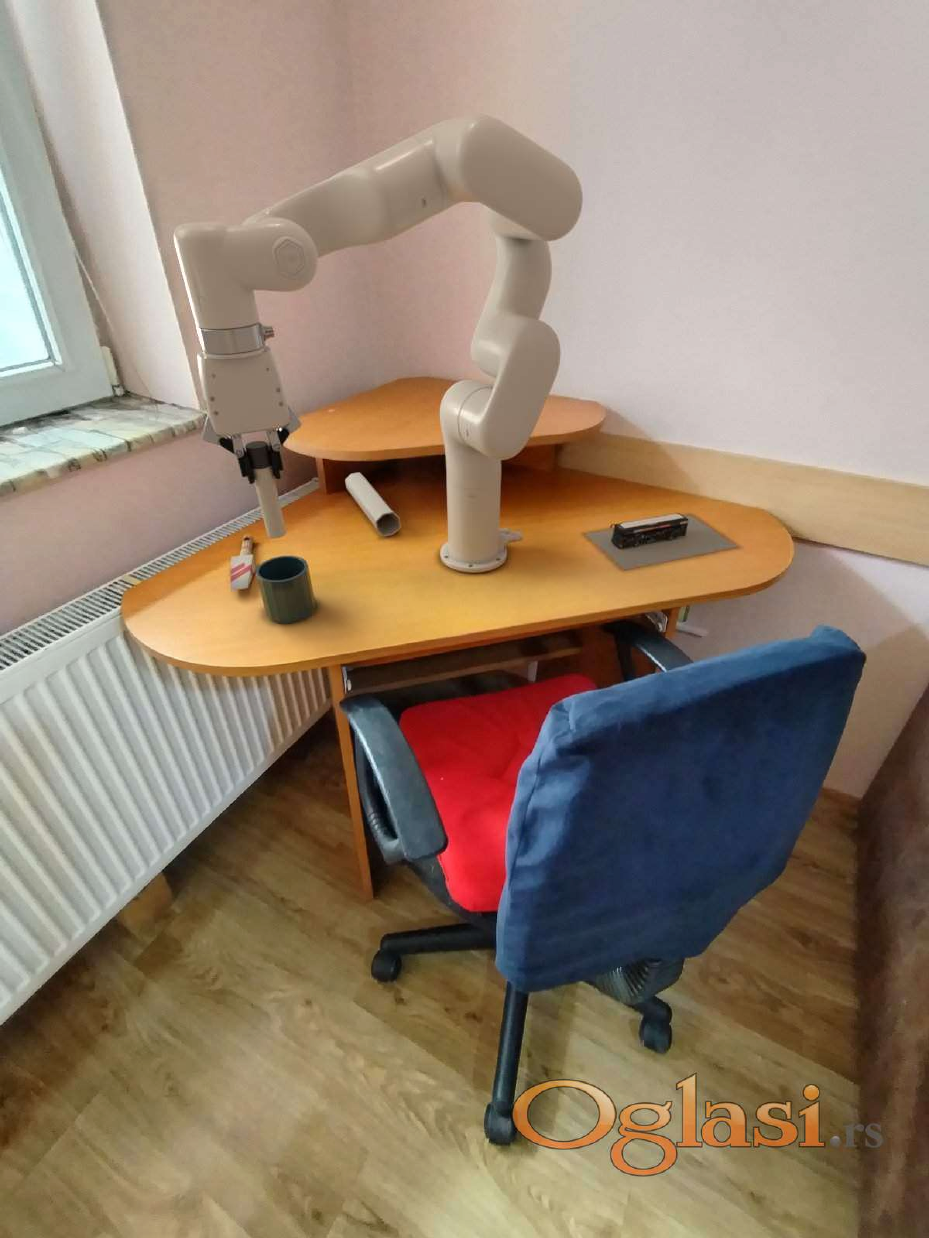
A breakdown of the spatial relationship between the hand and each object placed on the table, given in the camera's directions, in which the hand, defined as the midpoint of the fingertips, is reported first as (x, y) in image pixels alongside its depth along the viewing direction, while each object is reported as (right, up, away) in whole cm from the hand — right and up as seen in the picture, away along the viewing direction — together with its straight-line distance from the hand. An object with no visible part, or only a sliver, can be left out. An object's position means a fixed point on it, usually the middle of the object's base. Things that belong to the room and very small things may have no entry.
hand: (263, 477), depth 86 cm
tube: (+9, +3, +43) cm, 44 cm away
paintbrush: (-12, -11, +25) cm, 29 cm away
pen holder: (0, -19, +14) cm, 23 cm away
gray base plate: (+68, -5, +32) cm, 75 cm away
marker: (0, -7, +6) cm, 9 cm away
